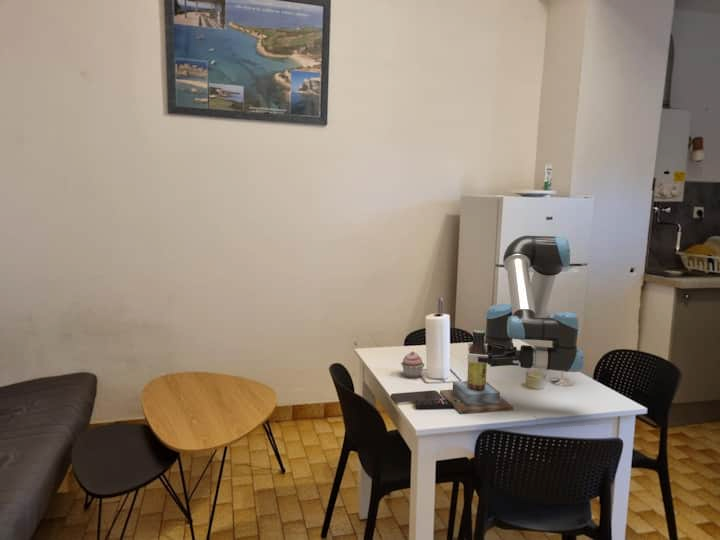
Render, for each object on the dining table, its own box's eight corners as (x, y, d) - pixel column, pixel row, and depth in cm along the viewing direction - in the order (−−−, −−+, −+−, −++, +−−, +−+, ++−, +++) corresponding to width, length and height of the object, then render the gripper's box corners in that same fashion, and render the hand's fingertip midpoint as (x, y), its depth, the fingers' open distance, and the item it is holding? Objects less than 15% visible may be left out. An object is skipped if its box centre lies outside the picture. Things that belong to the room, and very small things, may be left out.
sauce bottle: (485, 391, 174) (489, 334, 171) (466, 389, 176) (469, 333, 172) (485, 384, 181) (488, 329, 177) (466, 382, 182) (469, 328, 179)
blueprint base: (488, 390, 190) (489, 376, 189) (513, 410, 172) (514, 395, 172) (439, 393, 186) (440, 379, 185) (459, 414, 168) (460, 398, 168)
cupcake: (395, 375, 204) (396, 351, 202) (409, 370, 211) (410, 346, 209) (414, 381, 198) (415, 356, 196) (428, 375, 205) (429, 351, 203)
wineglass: (574, 381, 200) (578, 331, 198) (570, 387, 194) (574, 336, 191) (553, 377, 205) (557, 328, 202) (548, 383, 198) (552, 332, 196)
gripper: (536, 380, 161) (466, 374, 166) (528, 357, 185) (468, 352, 190) (537, 357, 160) (467, 351, 165) (529, 336, 184) (469, 332, 189)
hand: (467, 351), depth 177 cm, fingers open, 13 cm apart
